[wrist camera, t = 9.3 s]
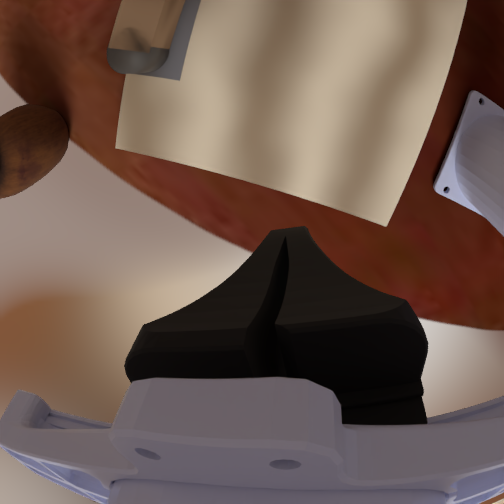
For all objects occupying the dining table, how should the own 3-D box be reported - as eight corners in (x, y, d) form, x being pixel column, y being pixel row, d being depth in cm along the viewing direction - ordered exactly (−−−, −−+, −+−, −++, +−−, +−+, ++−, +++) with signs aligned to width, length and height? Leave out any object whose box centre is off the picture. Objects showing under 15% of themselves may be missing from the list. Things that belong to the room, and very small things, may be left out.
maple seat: (458, -34, 10) (475, -43, 8) (378, 210, 21) (386, 227, 19) (201, -105, 10) (190, -120, 8) (132, 139, 21) (114, 148, 18)
